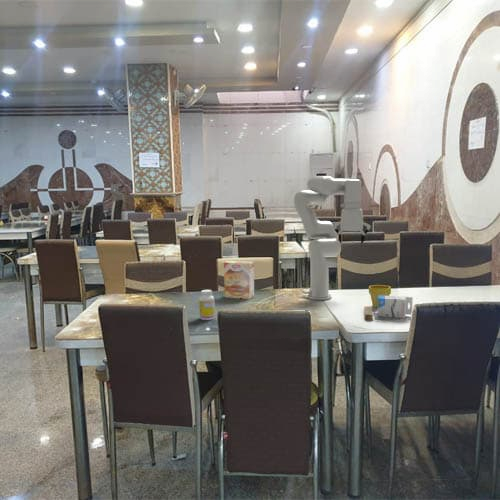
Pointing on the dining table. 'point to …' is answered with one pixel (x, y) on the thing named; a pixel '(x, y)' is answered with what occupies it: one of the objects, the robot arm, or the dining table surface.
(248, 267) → the coffeecake box
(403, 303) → the ink box
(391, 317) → the mat
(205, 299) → the supplement bottle
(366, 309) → the rail
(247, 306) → the dining table surface
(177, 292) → the dining table surface
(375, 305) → the plant pot
